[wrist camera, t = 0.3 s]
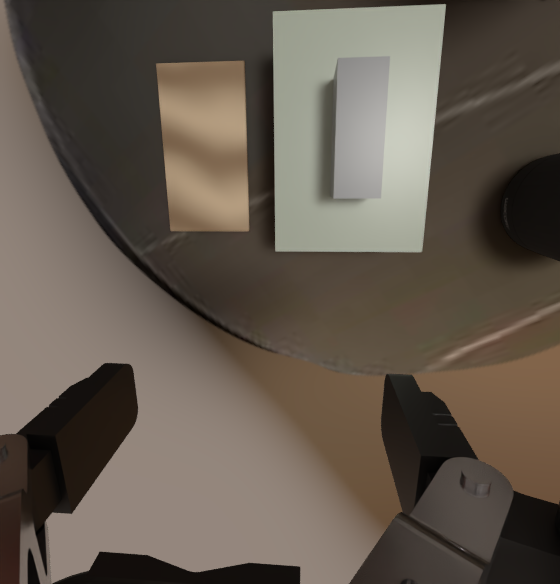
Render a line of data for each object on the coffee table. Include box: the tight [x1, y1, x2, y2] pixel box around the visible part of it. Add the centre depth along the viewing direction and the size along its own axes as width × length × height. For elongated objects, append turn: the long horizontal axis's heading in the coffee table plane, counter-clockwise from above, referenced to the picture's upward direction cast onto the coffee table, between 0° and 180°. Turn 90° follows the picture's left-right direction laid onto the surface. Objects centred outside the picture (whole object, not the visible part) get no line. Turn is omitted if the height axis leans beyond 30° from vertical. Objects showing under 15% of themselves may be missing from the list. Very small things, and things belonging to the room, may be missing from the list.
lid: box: [273, 4, 446, 252], centre depth 26 cm, size 16×11×7 cm
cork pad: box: [156, 61, 250, 231], centre depth 36 cm, size 15×8×1 cm, turn 0°
